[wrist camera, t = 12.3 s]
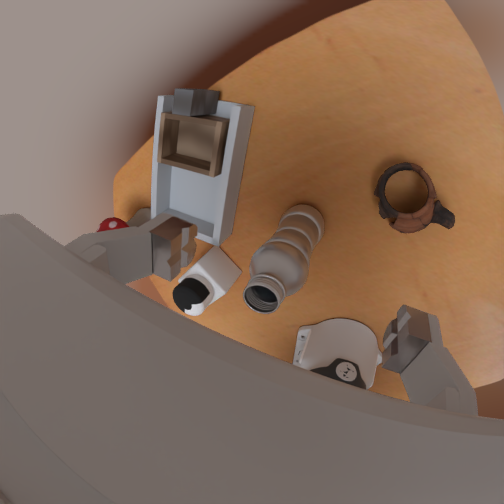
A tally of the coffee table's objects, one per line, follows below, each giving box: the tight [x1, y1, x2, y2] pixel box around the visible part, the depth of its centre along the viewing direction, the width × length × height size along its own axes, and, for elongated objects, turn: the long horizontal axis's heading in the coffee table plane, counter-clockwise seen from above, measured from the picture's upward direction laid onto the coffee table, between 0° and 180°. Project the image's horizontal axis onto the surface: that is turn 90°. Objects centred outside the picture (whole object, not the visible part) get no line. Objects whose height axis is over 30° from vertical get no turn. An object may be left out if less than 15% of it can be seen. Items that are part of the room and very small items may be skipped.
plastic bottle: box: [243, 205, 324, 314], centre depth 34 cm, size 6×7×20 cm
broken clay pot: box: [374, 163, 455, 233], centre depth 32 cm, size 12×10×8 cm
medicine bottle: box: [173, 245, 242, 316], centre depth 48 cm, size 7×7×12 cm
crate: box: [157, 89, 230, 178], centre depth 37 cm, size 12×10×7 cm
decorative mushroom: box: [97, 208, 151, 232], centre depth 48 cm, size 10×9×15 cm
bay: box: [151, 95, 255, 247], centre depth 42 cm, size 22×14×5 cm, turn 169°
